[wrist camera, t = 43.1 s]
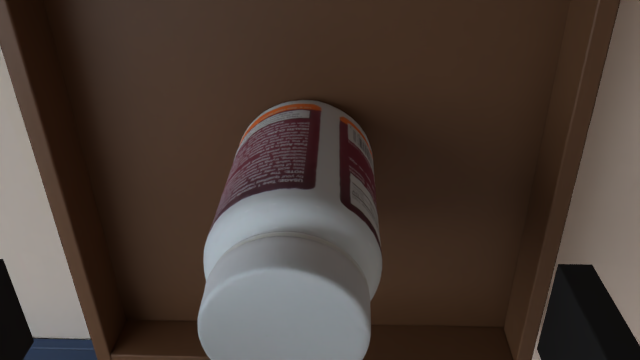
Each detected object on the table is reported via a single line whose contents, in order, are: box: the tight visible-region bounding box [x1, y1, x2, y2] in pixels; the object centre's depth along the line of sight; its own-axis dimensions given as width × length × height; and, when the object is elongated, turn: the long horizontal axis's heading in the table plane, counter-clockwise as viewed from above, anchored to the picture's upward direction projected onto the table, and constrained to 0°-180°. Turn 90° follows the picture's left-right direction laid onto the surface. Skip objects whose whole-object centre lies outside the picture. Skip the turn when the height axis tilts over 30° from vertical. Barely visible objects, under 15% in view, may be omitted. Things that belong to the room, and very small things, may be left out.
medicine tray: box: [0, 0, 620, 360], centre depth 20 cm, size 17×17×3 cm
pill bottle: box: [197, 100, 382, 360], centre depth 17 cm, size 5×5×8 cm
